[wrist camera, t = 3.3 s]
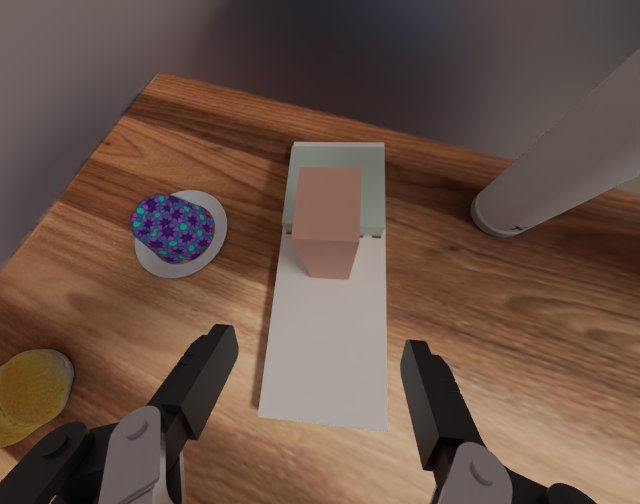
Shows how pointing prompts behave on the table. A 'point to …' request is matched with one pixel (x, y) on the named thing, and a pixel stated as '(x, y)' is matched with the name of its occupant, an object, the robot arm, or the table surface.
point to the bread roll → (32, 392)
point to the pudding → (177, 232)
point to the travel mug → (569, 159)
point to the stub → (327, 220)
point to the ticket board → (331, 311)
